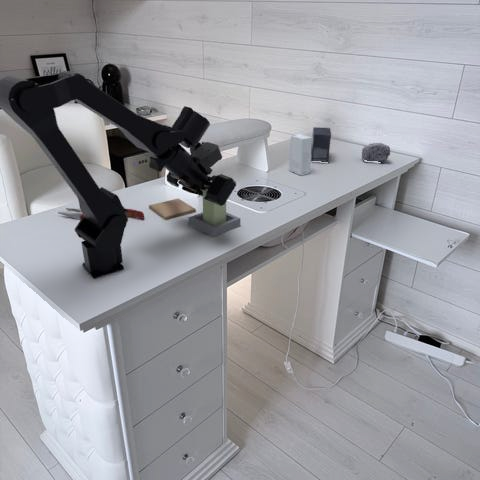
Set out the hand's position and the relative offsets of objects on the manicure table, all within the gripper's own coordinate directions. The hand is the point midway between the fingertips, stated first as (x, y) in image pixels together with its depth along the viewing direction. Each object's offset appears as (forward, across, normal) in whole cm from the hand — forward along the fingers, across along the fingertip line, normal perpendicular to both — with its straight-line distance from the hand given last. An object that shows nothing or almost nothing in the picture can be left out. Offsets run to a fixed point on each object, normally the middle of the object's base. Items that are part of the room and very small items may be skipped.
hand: (218, 198), depth 106 cm
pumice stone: (+60, +1, -51) cm, 79 cm away
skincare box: (+38, +11, -28) cm, 49 cm away
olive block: (+4, 0, +6) cm, 7 cm away
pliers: (-8, +21, +19) cm, 30 cm away
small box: (+50, +16, -41) cm, 67 cm away
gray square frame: (+4, 0, +6) cm, 7 cm away
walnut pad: (+2, +14, +7) cm, 16 cm away
